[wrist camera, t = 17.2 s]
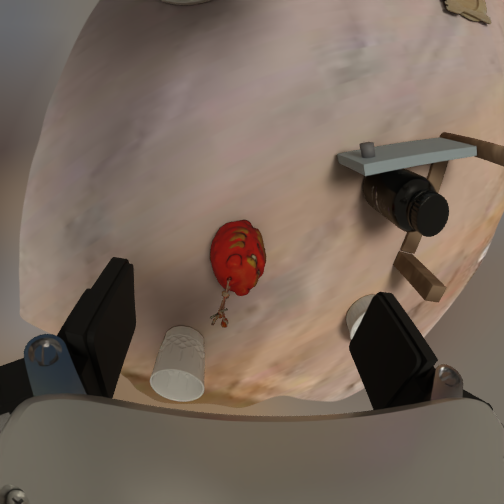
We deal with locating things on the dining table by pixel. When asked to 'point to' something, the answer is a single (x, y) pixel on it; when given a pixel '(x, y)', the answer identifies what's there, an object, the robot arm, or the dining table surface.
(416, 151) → the door
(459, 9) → the tableware set
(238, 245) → the red clay folk toy
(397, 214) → the supplement bottle
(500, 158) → the door frame
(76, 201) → the dining table surface
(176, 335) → the white cup
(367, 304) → the ramekin
